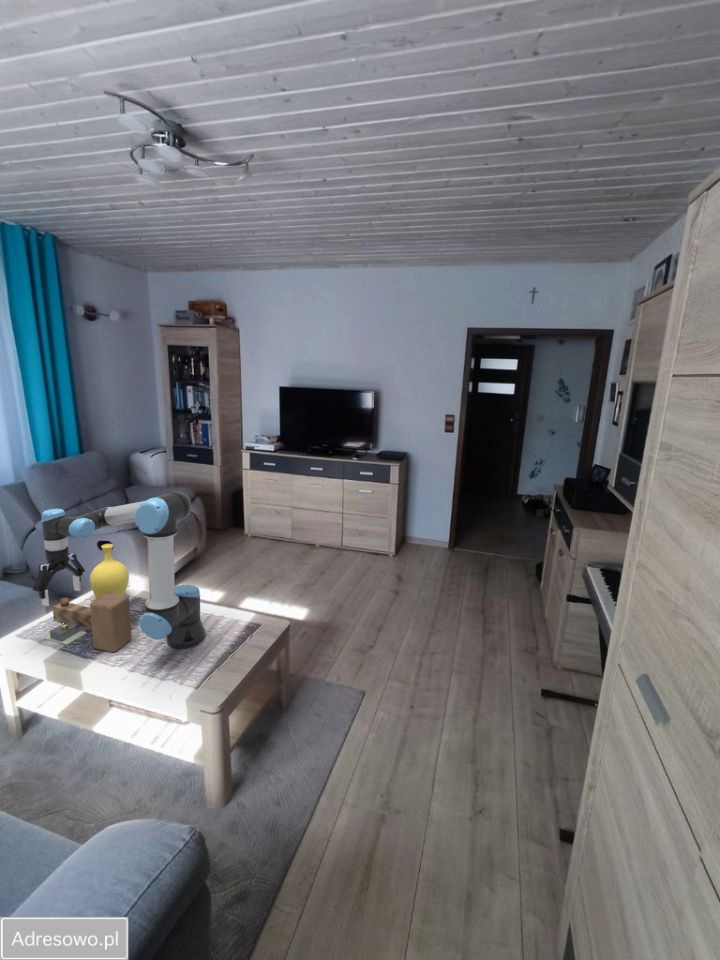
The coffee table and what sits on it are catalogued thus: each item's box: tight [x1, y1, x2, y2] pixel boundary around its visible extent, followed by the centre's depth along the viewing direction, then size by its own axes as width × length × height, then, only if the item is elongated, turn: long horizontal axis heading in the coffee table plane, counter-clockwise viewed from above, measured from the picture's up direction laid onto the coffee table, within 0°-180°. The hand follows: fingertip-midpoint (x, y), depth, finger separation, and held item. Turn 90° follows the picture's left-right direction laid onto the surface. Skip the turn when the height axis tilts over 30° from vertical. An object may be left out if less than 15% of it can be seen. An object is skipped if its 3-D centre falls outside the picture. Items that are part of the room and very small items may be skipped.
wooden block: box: [89, 593, 132, 653], centre depth 172 cm, size 10×10×20 cm
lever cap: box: [49, 621, 81, 642], centre depth 177 cm, size 6×8×5 cm
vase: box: [89, 543, 130, 600], centre depth 205 cm, size 16×16×28 cm
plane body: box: [52, 597, 97, 632], centre depth 186 cm, size 26×5×13 cm, turn 73°
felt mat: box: [43, 630, 88, 646], centre depth 177 cm, size 12×9×1 cm
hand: (62, 597), depth 174 cm, fingers open, 13 cm apart
